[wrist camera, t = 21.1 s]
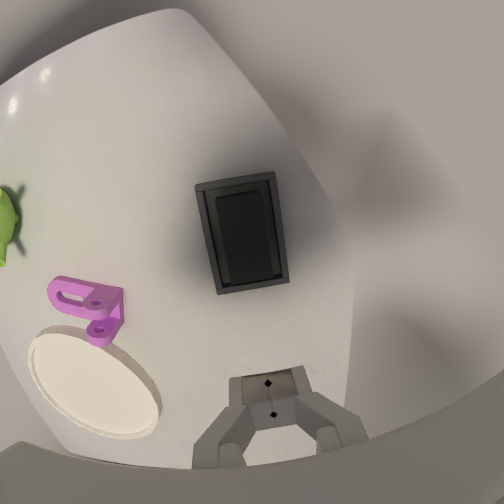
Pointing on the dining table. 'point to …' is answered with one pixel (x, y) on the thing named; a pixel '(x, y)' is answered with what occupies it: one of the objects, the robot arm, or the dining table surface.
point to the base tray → (212, 232)
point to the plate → (94, 384)
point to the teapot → (6, 224)
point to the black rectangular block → (244, 236)
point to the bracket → (90, 306)
